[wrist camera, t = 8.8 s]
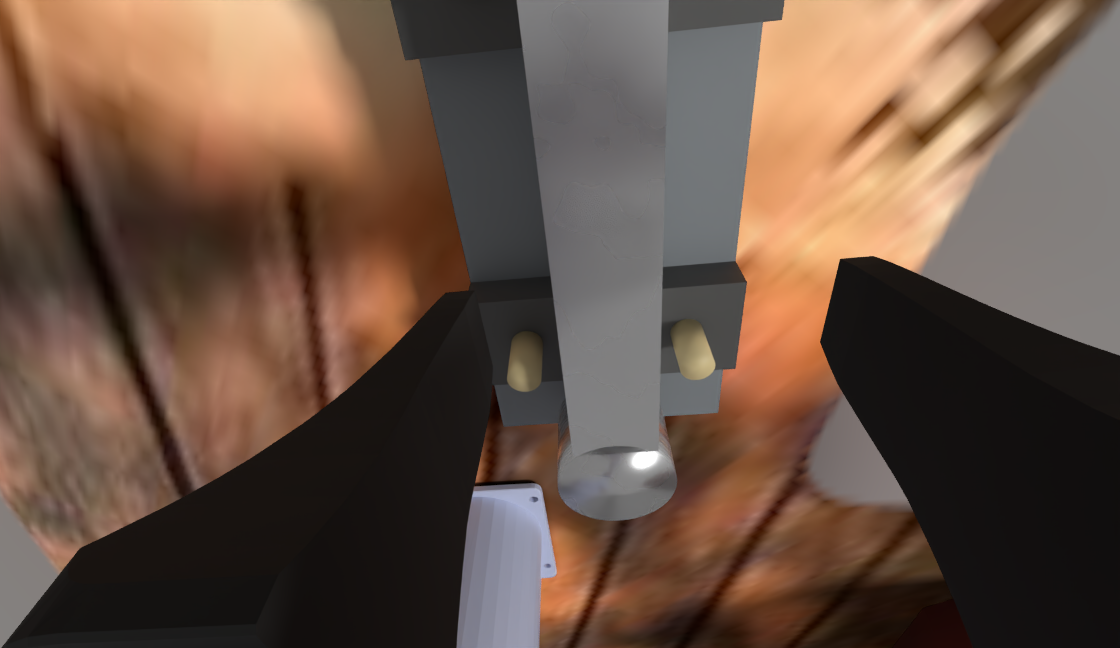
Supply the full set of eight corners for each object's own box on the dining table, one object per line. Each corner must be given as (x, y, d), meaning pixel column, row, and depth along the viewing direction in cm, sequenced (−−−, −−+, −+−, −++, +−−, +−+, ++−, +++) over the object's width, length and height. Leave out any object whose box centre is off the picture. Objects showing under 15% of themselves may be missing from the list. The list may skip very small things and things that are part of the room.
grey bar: (661, 447, 23) (675, 517, 21) (563, 453, 24) (563, 523, 21) (685, -450, 9) (739, -621, 6) (443, -412, 10) (393, -559, 7)
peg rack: (710, 390, 25) (738, 474, 21) (506, 403, 26) (496, 488, 22) (791, -420, 11) (917, -620, 7) (342, -350, 12) (230, -499, 8)
